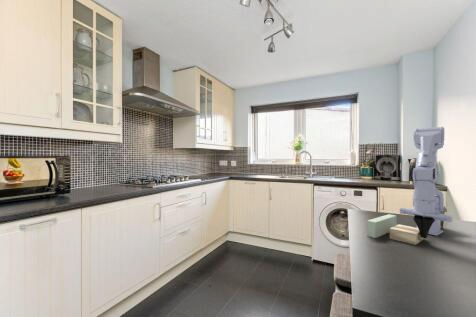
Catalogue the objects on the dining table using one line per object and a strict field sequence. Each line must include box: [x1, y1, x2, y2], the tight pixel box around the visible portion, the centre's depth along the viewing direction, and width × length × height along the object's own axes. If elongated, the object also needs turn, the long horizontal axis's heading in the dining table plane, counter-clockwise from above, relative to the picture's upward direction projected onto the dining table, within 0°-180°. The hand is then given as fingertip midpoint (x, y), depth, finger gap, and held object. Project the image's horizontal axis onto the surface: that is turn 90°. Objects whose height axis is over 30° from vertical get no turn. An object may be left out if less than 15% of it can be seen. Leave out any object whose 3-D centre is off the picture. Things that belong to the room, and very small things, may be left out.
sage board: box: [366, 213, 398, 239], centre depth 91 cm, size 20×3×6 cm, turn 125°
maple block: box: [389, 223, 425, 246], centre depth 84 cm, size 10×8×4 cm
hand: (423, 237), depth 80 cm, fingers closed
